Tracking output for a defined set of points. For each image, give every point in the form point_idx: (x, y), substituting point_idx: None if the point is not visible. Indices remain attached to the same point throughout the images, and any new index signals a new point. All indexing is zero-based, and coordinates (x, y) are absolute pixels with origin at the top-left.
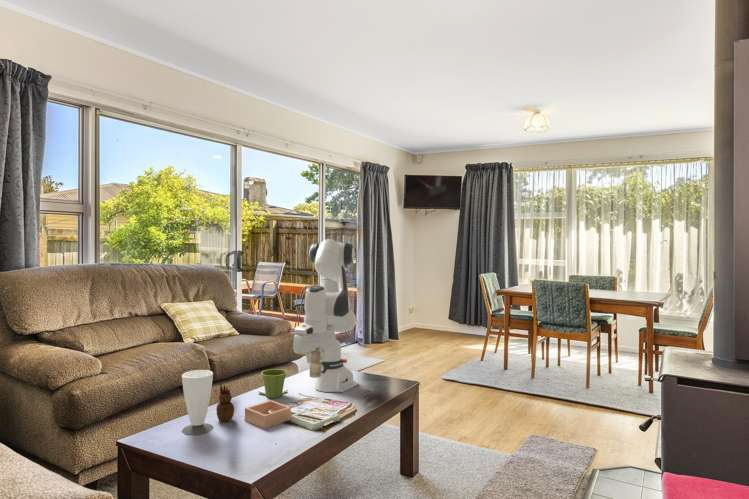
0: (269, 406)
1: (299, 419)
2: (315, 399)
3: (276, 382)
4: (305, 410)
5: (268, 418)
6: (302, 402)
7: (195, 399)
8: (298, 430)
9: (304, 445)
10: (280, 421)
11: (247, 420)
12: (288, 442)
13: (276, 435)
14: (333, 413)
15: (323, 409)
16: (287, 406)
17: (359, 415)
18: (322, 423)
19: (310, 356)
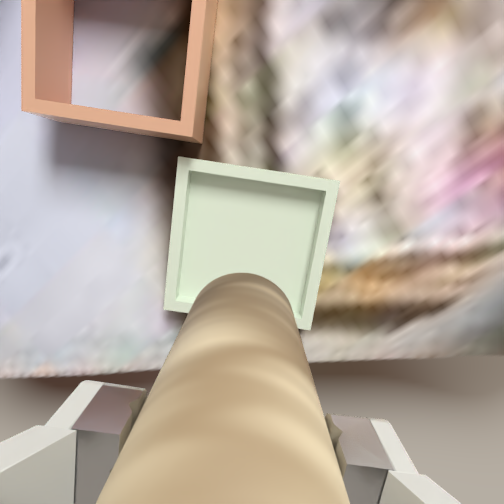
0: None
1: (172, 221)
2: (485, 54)
3: None
4: (268, 173)
5: (58, 118)
6: (414, 25)
7: None
8: (137, 250)
9: (59, 350)
10: (142, 134)
11: None
12: (38, 292)
13: (49, 213)
14: (307, 302)
15: (324, 236)
16: (192, 110)
17: (395, 349)
18: None
19: (112, 471)
